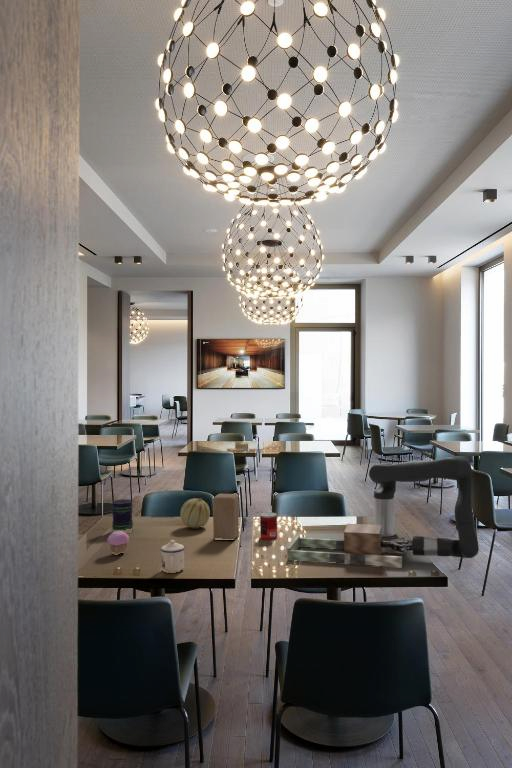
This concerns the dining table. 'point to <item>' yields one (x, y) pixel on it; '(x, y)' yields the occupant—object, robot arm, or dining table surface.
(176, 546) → the teacup with lid
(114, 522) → the navy striped cylinder
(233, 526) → the block
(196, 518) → the cantaloupe
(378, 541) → the walnut block
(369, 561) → the tray
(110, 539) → the cupcake
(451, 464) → the robot arm
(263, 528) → the canned food
